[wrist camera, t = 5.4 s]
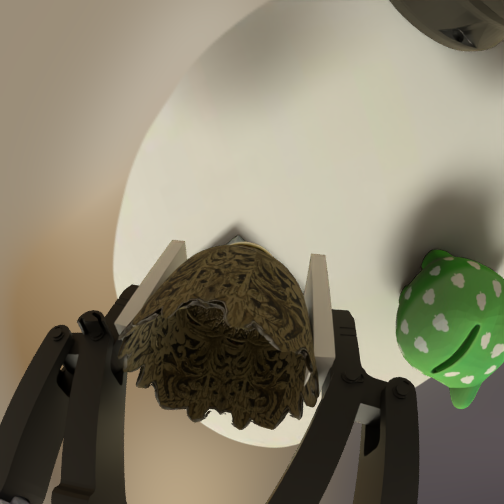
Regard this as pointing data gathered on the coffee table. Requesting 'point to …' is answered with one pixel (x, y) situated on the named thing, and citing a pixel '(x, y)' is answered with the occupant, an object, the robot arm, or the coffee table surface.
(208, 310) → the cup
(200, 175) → the coffee table surface
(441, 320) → the piggy bank
